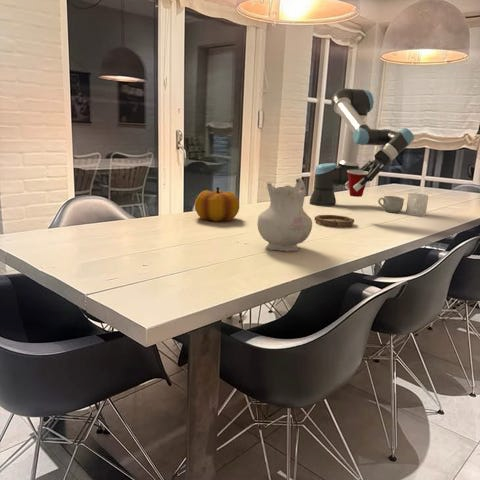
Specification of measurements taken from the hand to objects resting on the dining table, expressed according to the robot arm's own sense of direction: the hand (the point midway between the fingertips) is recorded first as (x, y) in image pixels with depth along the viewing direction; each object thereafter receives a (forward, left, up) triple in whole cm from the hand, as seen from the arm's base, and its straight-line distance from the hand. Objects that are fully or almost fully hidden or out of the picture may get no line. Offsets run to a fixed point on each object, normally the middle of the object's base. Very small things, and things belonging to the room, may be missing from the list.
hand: (350, 187), depth 229 cm
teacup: (-21, +39, -16) cm, 48 cm away
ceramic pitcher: (+44, -54, -16) cm, 71 cm away
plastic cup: (+1, +3, -4) cm, 5 cm away
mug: (-12, +49, -16) cm, 53 cm away
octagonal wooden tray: (+7, -12, -16) cm, 21 cm away
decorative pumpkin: (-9, -64, -16) cm, 66 cm away
